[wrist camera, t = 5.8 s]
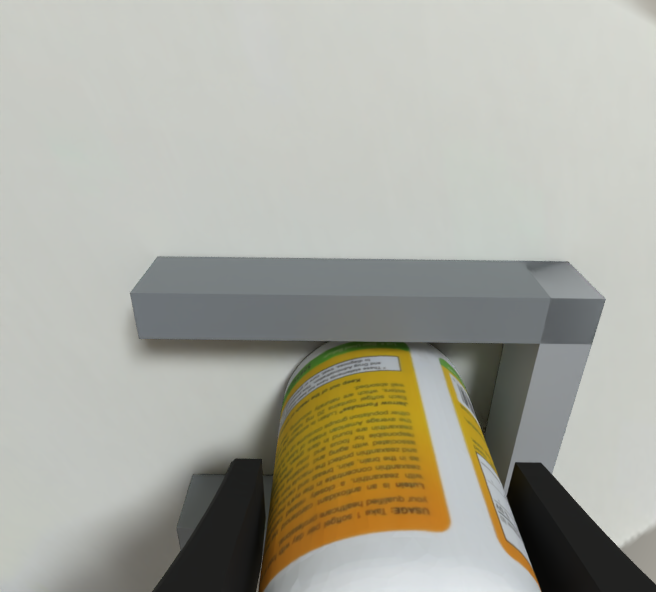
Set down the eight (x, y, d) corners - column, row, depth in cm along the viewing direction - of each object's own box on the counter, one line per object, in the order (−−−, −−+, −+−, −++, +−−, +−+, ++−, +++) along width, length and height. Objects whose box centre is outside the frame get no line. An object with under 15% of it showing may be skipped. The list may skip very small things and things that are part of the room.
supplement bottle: (255, 430, 16) (162, 918, 7) (333, 294, 13) (337, 770, 5) (404, 486, 17) (479, 965, 8) (500, 369, 14) (744, 864, 6)
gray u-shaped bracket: (197, 500, 17) (181, 553, 15) (157, 256, 13) (130, 292, 11) (505, 503, 17) (526, 558, 15) (568, 261, 13) (605, 299, 11)
